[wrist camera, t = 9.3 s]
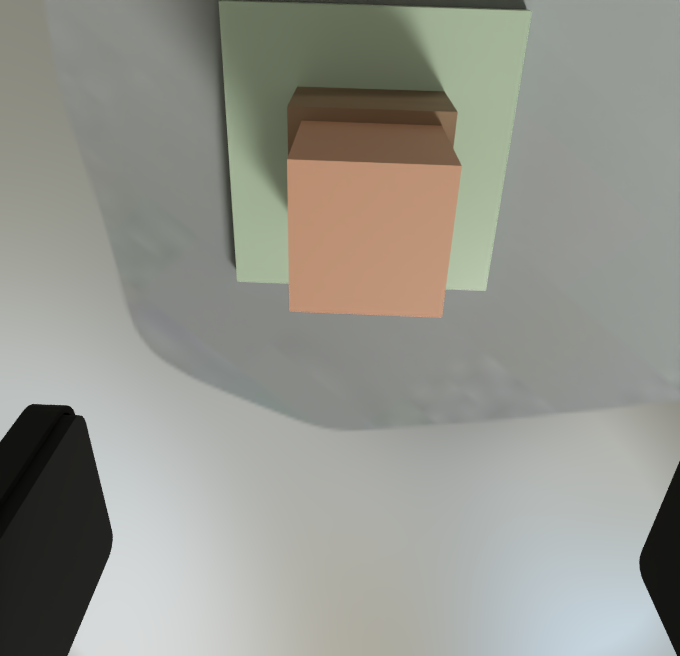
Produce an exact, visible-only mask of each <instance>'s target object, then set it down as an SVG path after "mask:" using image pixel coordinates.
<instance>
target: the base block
mask: <svg viewBox="0 0 680 656" xmlns="http://www.w3.org/2000/svg"><path fill="white" fill-rule="evenodd" d="M457 114H458V112H457V110H456V109H455V107H454V105H453V104H452V102H451V101H450V99H449V98H448V96H447V94H446V93H445V91H418V90H388V89H358V88H327V87H297V88H296V90H295V92H294V94H293V96H292V98H291V100H290V102H289V104H288V106H287V125H288V155H289V153H290V150H291V147H292V145H293V142H294V139H295V137H296V134H297V131H298V129H299V126H300V123H301V121H328V122H355V123H382V124H409V125H436V126H442V127H443V129H444V131H445V133H446V135H447V137H448V139H449V141H450V143H451V145H452V147H454V139H455V131H456V122H457Z"/></svg>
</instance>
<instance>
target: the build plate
mask: <svg viewBox="0 0 680 656" xmlns="http://www.w3.org/2000/svg"><path fill="white" fill-rule="evenodd" d="M219 15H220V30H221V46H222V61H223V76H224V91H225V106H226V121H227V136H228V151H229V166H230V181H231V196H232V211H233V227H234V242H235V257H236V272H237V282H262V283H289V257H288V189H287V158H288V125H287V106H288V104H289V102H290V100H291V98H292V96H293V94H294V92H295V90H296V88H297V87H327V88H358V89H388V90H418V91H445V93H446V94H447V96H448V98H449V99H450V101H451V102H452V104H453V105H454V107H455V109H456V110H457V112H458V114H457V122H456V131H455V139H454V147H453V149H454V151H455V153H456V155H457V157H458V159H459V161H460V163H461V165H462V168H461V176H460V184H459V191H458V199H457V206H456V214H455V222H454V229H453V237H452V244H451V252H450V260H449V267H448V275H447V282H446V289H452V290H479V291H486V286H487V280H488V274H489V268H490V262H491V256H492V250H493V244H494V238H495V232H496V226H497V220H498V214H499V208H500V202H501V196H502V190H503V184H504V178H505V172H506V166H507V160H508V154H509V148H510V141H511V135H512V129H513V123H514V117H515V111H516V105H517V99H518V93H519V87H520V81H521V75H522V69H523V63H524V57H525V51H526V45H527V39H528V33H529V27H530V21H531V15H532V11H531V10H526V9H494V8H462V7H430V6H398V5H366V4H335V3H303V2H271V1H239V0H221V1H219Z"/></svg>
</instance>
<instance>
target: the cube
mask: <svg viewBox="0 0 680 656" xmlns="http://www.w3.org/2000/svg"><path fill="white" fill-rule="evenodd" d="M461 168H462V165H461V163H460V161H459V159H458V157H457V155H456V153H455V151H454V149H453V147H452V145H451V143H450V141H449V139H448V137H447V135H446V133H445V131H444V129H443V127H442V126H436V125H409V124H382V123H355V122H328V121H301V123H300V126H299V129H298V131H297V134H296V137H295V139H294V142H293V145H292V147H291V150H290V153H289V155H288V158H287V189H288V257H289V312H313V313H338V314H363V315H388V316H413V317H438V318H442V313H443V305H444V298H445V290H446V282H447V275H448V267H449V260H450V252H451V244H452V237H453V229H454V222H455V214H456V206H457V199H458V191H459V184H460V176H461Z"/></svg>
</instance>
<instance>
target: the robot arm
mask: <svg viewBox="0 0 680 656" xmlns="http://www.w3.org/2000/svg"><path fill="white" fill-rule="evenodd" d="M112 538H113V534H112V529H111V525H110V520H109V516H108V513H107V508H106V504H105V500H104V496H103V492H102V487H101V483H100V479H99V475H98V471H97V467H96V462H95V458H94V454H93V450H92V446H91V442H90V438H89V434H88V429H87V425H86V422H85V419H84V418H83V416H79V415H75V413H74V410H73V409H72V408H71V407H70V406H66V405H41V404H32V405H29V406H28V407H27V408H26V409H25V410H24V411H23V412H22V413H21V415H20V416H19V417H18V419H17V420H16V422H15V423H14V424H13V425H12V427H11V428H10V430H9V431H8V432H7V434H6V435H5V436H4V438H3V439H2V440H1V442H0V656H67V655H68V653H69V651H70V648H71V646H72V644H73V641H74V639H75V636H76V634H77V631H78V629H79V627H80V625H81V622H82V620H83V617H84V615H85V612H86V610H87V608H88V605H89V603H90V601H91V598H92V596H93V593H94V591H95V589H96V586H97V584H98V582H99V579H100V577H101V574H102V572H103V570H104V567H105V565H106V562H107V560H108V558H109V555H110V552H111V548H112V541H113V539H112ZM639 564H640V572H641V576H642V579H643V581H644V583H645V586H646V588H647V590H648V592H649V594H650V597H651V599H652V601H653V603H654V605H655V608H656V610H657V612H658V614H659V617H660V619H661V621H662V623H663V625H664V628H665V630H666V632H667V634H668V636H669V639H670V641H671V643H672V645H673V647H674V650H675V652H676V654H677V656H680V462H679V464H678V466H677V469H676V471H675V474H674V476H673V478H672V481H671V483H670V485H669V488H668V490H667V493H666V495H665V497H664V500H663V502H662V504H661V507H660V509H659V512H658V514H657V516H656V519H655V521H654V524H653V526H652V528H651V531H650V533H649V535H648V538H647V540H646V542H645V545H644V547H643V550H642V552H641V555H640V562H639Z"/></svg>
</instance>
